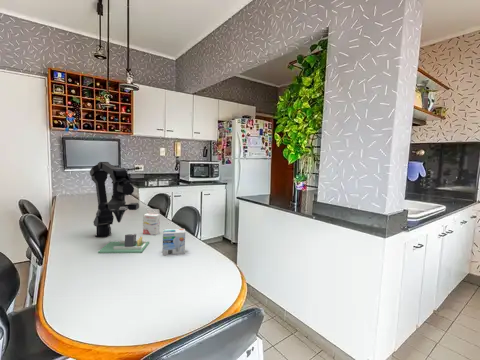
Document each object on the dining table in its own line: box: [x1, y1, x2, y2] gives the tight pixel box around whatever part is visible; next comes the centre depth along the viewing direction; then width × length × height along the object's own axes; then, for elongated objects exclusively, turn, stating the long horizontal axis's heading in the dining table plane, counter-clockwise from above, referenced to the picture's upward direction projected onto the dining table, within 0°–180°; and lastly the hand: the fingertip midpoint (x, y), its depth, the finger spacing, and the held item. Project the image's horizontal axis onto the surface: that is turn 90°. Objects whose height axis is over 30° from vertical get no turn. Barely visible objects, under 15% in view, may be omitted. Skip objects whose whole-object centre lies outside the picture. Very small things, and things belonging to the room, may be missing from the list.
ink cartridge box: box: [142, 208, 161, 236], centre depth 150 cm, size 9×5×15 cm, turn 84°
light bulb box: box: [162, 228, 186, 256], centre depth 122 cm, size 11×7×11 cm, turn 105°
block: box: [124, 233, 137, 247], centre depth 125 cm, size 4×6×6 cm, turn 11°
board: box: [97, 236, 150, 254], centre depth 126 cm, size 20×14×5 cm
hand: (119, 222), depth 130 cm, fingers closed
